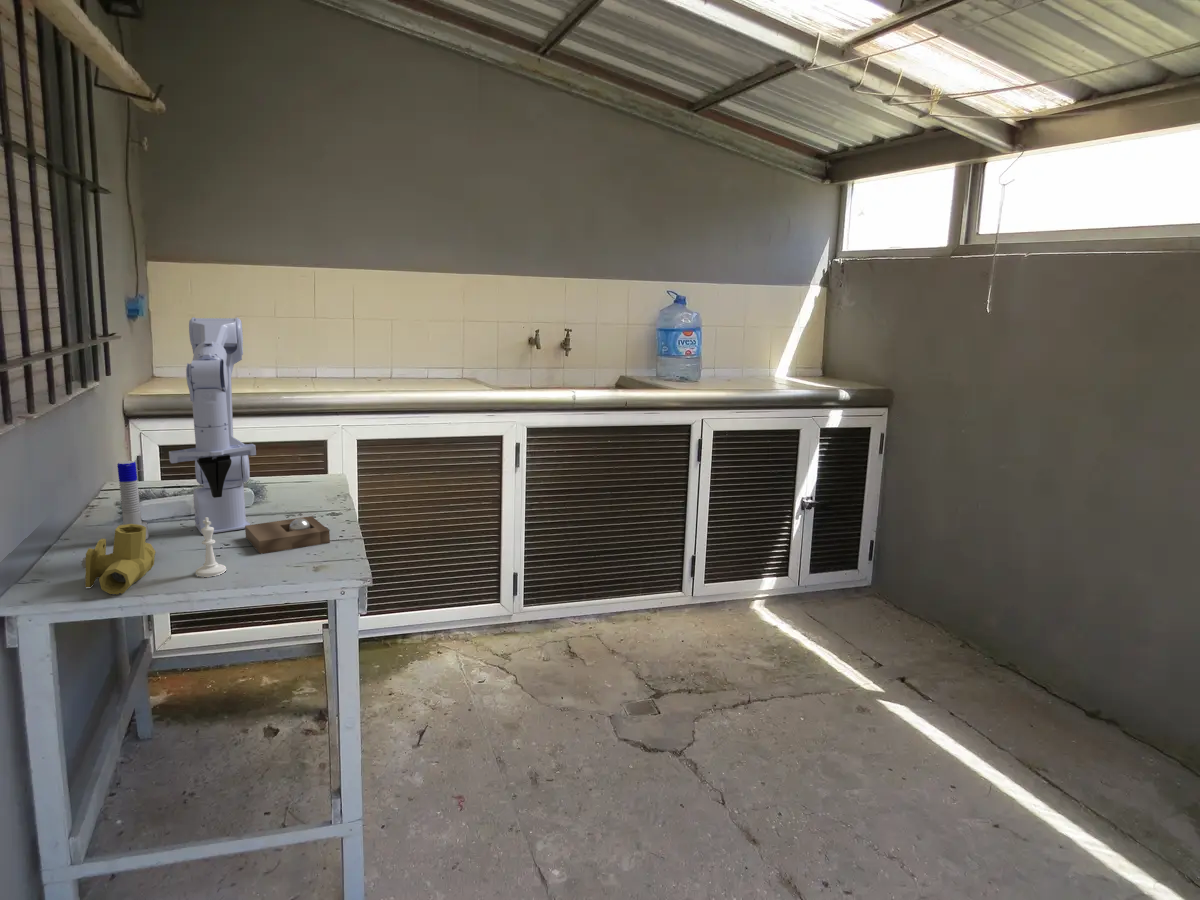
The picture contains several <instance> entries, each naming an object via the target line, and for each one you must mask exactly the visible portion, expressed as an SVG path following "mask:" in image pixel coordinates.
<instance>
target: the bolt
mask: <svg viewBox="0 0 1200 900" xmlns="http://www.w3.org/2000/svg"><path fill="white" fill-rule="evenodd" d="M137 473H138V472H137V464H136V461H134V460H124V461H123V460H122V461H119V462H118V463H117V475H118V484H119V485H118V486H119V493H120V495H119V496H120V500H121V501H120V502H121V504H120V505H121V511H122V513H121V514H122V523H120V524H119V525H126V524H137V525H142V526H144V527H146V540H148V539H149V527H148V522H147V521H142V511H141V505H140V503H141V501H140V495H139V494H140V492H139V490H138V489H139V485H138V484H139V483H138V482H139V481H138V474H137Z"/></svg>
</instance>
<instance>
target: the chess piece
mask: <svg viewBox="0 0 1200 900" xmlns="http://www.w3.org/2000/svg"><path fill="white" fill-rule="evenodd" d="M203 523H204V524H205V526H206V527H204V528H202V529H201V531H202V533H203V534H202V535H203V537H204V540H203V541H202V542H201V544H202V545H204V546H205V560H204V563H203V564H202V566H200V567H198V568H196V570H195V575H196V574H197V575H198V576H204V577H207V578H210V577H209V576H215V577H217V576H216V575H219V576H221V575H220V574H222V573H224V572H225V571H226V570H227V567H226V566H225V565H224V564H220V563H218V562H217V561H216V558H215V554H214V548H213V544H215V543H216V540H215V539H213V535H214V533H213V531H214V528H213V527H209V525H210V524H211V522H210V521H209V518H208V517H206V518H205V520H204V521H203ZM226 572H227V571H226ZM224 574H225V573H224ZM222 575H223V574H222ZM198 576H197V577H198ZM204 577H203V578H204Z"/></svg>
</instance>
